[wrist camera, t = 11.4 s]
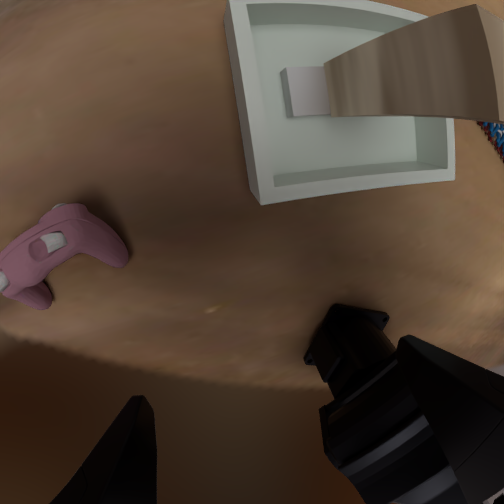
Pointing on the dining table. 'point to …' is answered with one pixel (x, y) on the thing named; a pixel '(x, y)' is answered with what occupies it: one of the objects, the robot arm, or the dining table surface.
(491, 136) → the woven mat
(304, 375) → the dining table surface
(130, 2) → the dining table surface
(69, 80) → the dining table surface
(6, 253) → the video game controller
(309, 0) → the box
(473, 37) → the plate
